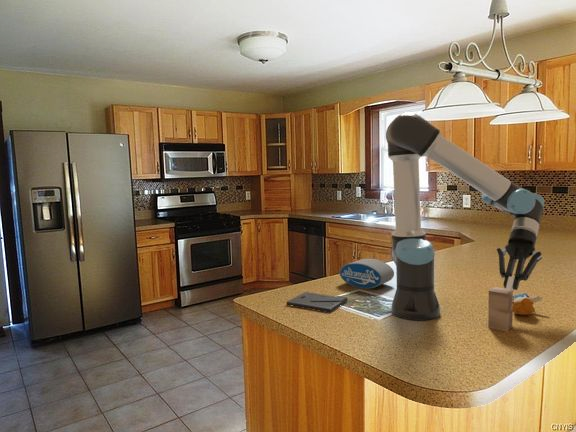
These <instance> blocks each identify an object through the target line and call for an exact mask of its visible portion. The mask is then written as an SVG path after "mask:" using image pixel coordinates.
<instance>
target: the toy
mask: <svg viewBox="0 0 576 432" xmlns="http://www.w3.org/2000/svg"><path fill="white" fill-rule="evenodd" d="M541 301H543V297H542V296H540V295H536V296H533V297H532V296H531V297H530V296H529V294H528V292H525V291H523V292H522V293H521V294H513V314H515V315H520V316H526V315H531V313H532V312H533V313H534V314H535V315H536V314H537V312H536V310H535V308H534V306H533V305H534V304H535V303H537V302H541Z"/></svg>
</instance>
